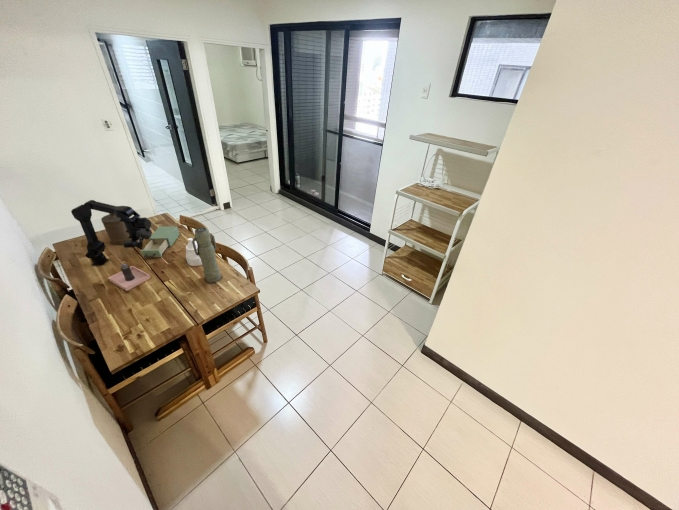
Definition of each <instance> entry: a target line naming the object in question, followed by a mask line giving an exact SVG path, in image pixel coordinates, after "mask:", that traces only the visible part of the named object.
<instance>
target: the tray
mask: <svg viewBox="0 0 679 510" xmlns="http://www.w3.org/2000/svg"><path fill="white" fill-rule="evenodd" d="M129 267H130V269H131V271H132V274H133V275H134V276H135V279H133V280H132V281H126V280H125V277H124V275H123V273H122V271H121V270H120V271H119V272H117V273H115V274H113V275H111V276H109V277H107V279H108V281H109V282H111V283H112V284H113V285H115V286H117V287H119V288H120V289H122V290H124V291H126V292H128V291H130V290H131V289H133V288H136V287H137V286H139V285H141V284H143V283H144V282H147V281H148V280H149V279H151V278H152V277H151V275H150V274H149V273H147V272H145V271H144V270H141V269H140V268H138V267H136V266H134V265H131V266H129Z"/></svg>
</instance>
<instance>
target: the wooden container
mask: <svg viewBox="0 0 679 510" xmlns="http://www.w3.org/2000/svg"><path fill="white" fill-rule="evenodd" d="M120 219H121V218H118V217H116V216H115V215H114V214H110V213H108V214H106V215H104V216H102V217H101V219H100V221H101V223H102V225H103V227H104V230H105V232H106V234H107V236H108V238H109V240H110V242H111V244H113V245H123V244H124V243H125V242H126V241H127V240H131V238H128V237H129V233H126V230H127V229H126V226H125V224H124V222H120V221H119V220H120Z"/></svg>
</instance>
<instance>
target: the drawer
mask: <svg viewBox="0 0 679 510" xmlns="http://www.w3.org/2000/svg"><path fill="white" fill-rule="evenodd" d="M168 245H169V243H168V240H167V239H152V240H151V241H150V240H149V242H148V243H147V244H146V245H145V247H143V249H142V250H140V253H141V255H142V258H143V259H148V258H149V259H154V258H163V253H164V252H165V251H166V249H167V248H168Z"/></svg>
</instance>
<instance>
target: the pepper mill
mask: <svg viewBox="0 0 679 510" xmlns="http://www.w3.org/2000/svg"><path fill="white" fill-rule="evenodd" d="M130 267H131V266H130V265H128V264H127V263H122V264H120V272H121V271H122V273H123V275H124V277H125V280H126V281H132V280H133V279H135V276H134V275H133V274H132V271H131V269H130Z"/></svg>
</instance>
